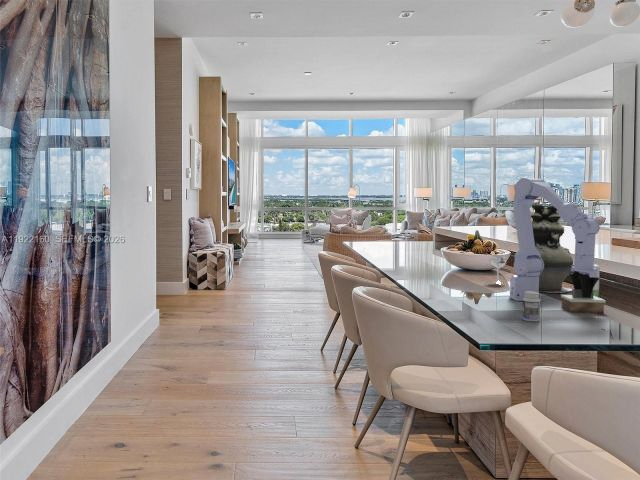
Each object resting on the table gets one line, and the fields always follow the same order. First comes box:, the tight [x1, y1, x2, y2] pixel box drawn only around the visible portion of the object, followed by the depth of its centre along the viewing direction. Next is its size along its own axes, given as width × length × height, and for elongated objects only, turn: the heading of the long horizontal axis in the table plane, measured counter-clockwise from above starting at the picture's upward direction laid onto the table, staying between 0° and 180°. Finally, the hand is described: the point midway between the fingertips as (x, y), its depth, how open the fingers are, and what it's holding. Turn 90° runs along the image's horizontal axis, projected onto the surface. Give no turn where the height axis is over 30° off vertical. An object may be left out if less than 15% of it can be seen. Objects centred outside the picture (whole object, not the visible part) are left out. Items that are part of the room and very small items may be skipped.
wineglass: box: [490, 254, 508, 285], centre depth 223 cm, size 7×7×12 cm
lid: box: [560, 288, 607, 304], centre depth 165 cm, size 11×9×3 cm
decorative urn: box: [531, 204, 574, 294], centre depth 205 cm, size 21×21×35 cm
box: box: [561, 297, 605, 314], centre depth 165 cm, size 10×8×3 cm
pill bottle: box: [522, 291, 541, 322], centre depth 150 cm, size 5×5×8 cm
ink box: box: [593, 263, 601, 297], centre depth 194 cm, size 9×5×12 cm, turn 162°
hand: (582, 296), depth 165 cm, fingers open, 5 cm apart
